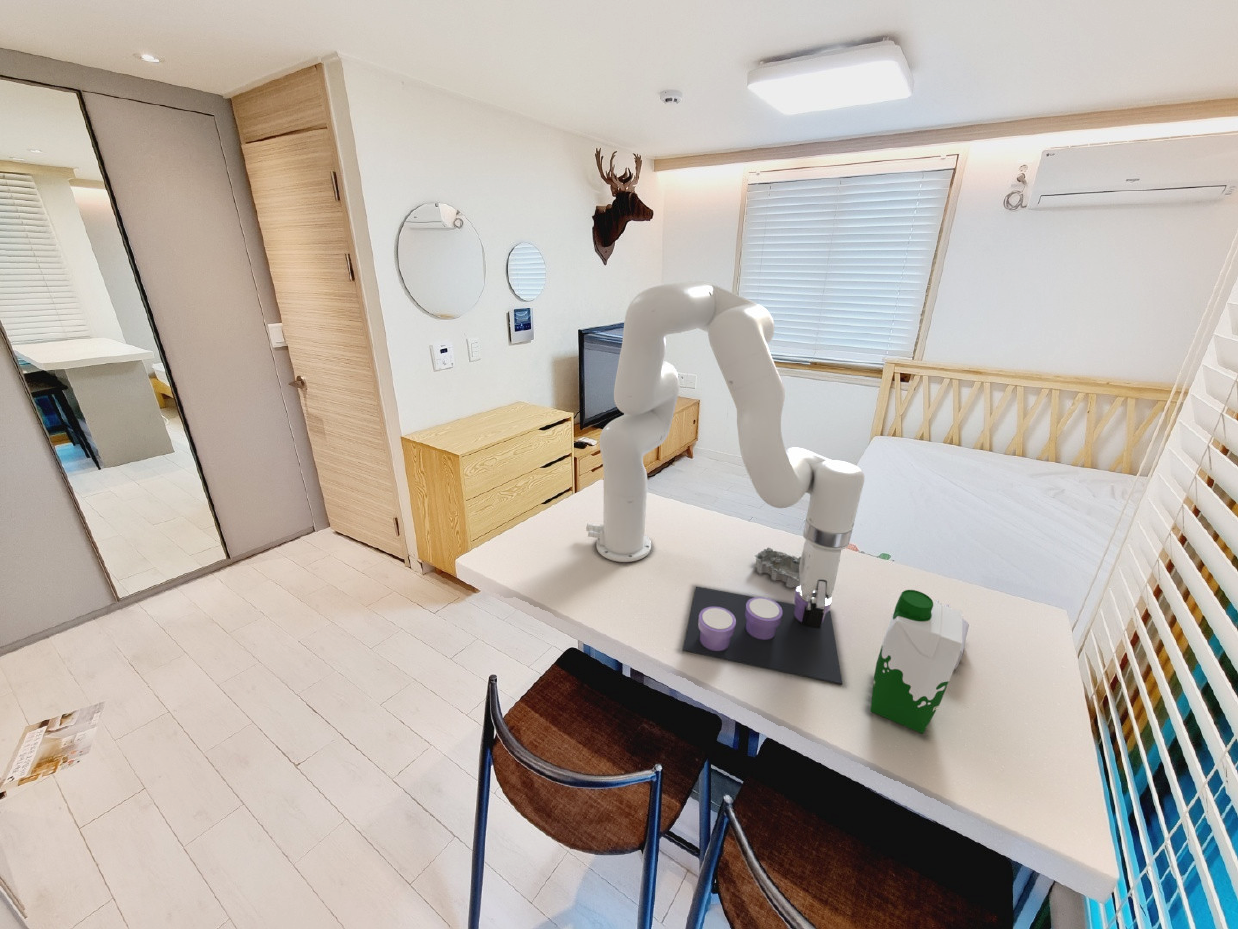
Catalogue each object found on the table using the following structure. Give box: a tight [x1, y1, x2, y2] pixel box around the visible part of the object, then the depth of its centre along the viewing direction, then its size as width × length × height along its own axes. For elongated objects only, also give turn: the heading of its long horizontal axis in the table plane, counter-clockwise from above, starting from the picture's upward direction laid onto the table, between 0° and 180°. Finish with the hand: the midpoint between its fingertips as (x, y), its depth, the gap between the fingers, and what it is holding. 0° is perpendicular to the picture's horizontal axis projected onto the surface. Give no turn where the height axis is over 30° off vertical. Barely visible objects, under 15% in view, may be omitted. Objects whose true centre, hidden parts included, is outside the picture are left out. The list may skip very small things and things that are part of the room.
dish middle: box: [745, 596, 783, 640], centre depth 91 cm, size 6×6×5 cm
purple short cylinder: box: [698, 607, 736, 651], centre depth 89 cm, size 6×6×5 cm
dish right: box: [793, 586, 833, 623], centre depth 93 cm, size 6×6×5 cm
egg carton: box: [754, 546, 801, 588], centre depth 107 cm, size 11×8×4 cm
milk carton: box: [870, 589, 963, 735], centre depth 74 cm, size 9×9×20 cm
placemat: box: [682, 586, 843, 685], centre depth 92 cm, size 26×18×1 cm
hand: (809, 612), depth 94 cm, fingers closed on dish right, 6 cm apart
